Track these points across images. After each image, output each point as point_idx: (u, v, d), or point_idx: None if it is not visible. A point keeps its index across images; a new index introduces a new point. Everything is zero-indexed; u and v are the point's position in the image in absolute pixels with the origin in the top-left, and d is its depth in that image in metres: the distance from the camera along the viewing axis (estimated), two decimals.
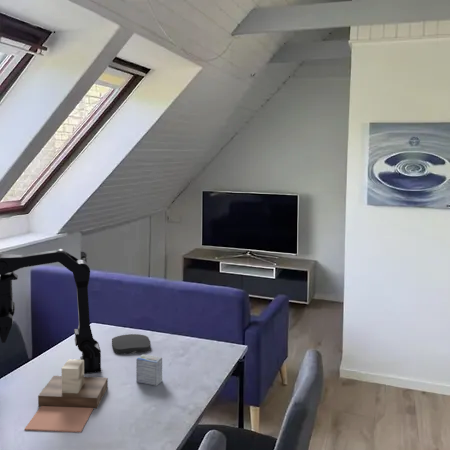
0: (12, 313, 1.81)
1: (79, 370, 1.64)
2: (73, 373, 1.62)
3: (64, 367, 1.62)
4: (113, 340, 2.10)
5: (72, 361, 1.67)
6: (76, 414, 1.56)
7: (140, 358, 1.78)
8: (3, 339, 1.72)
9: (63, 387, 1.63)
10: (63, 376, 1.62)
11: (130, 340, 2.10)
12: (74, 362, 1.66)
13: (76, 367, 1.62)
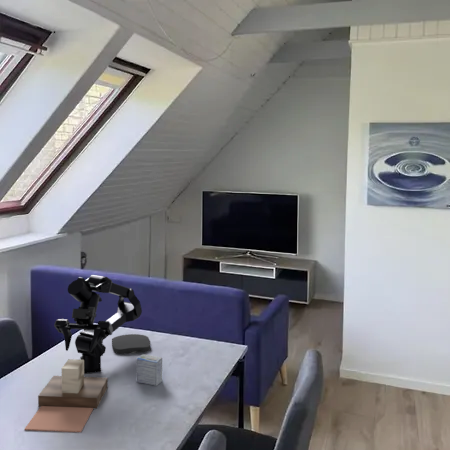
0: (71, 334, 1.79)
1: (79, 370, 1.64)
2: (73, 373, 1.62)
3: (64, 367, 1.62)
4: (113, 340, 2.10)
5: (72, 361, 1.67)
6: (76, 414, 1.56)
7: (140, 358, 1.78)
8: (92, 348, 1.74)
9: (63, 387, 1.63)
10: (63, 376, 1.62)
11: (130, 340, 2.10)
12: (74, 362, 1.66)
13: (76, 367, 1.62)
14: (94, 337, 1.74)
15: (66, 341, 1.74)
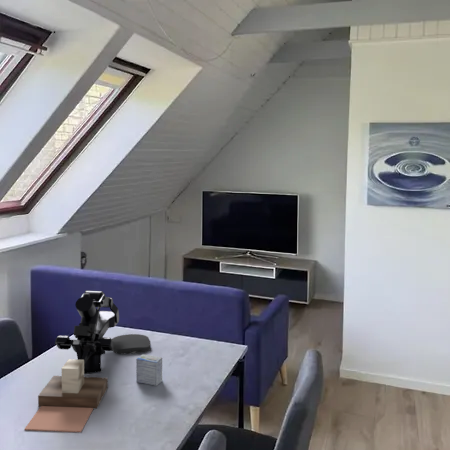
0: (83, 351, 1.79)
1: (79, 370, 1.64)
2: (73, 373, 1.62)
3: (64, 367, 1.62)
4: (113, 340, 2.10)
5: (72, 361, 1.67)
6: (76, 414, 1.56)
7: (140, 358, 1.78)
8: None
9: (63, 387, 1.63)
10: (63, 376, 1.62)
11: (130, 340, 2.10)
12: (74, 362, 1.66)
13: (76, 367, 1.62)
14: (84, 353, 1.75)
15: (79, 358, 1.74)
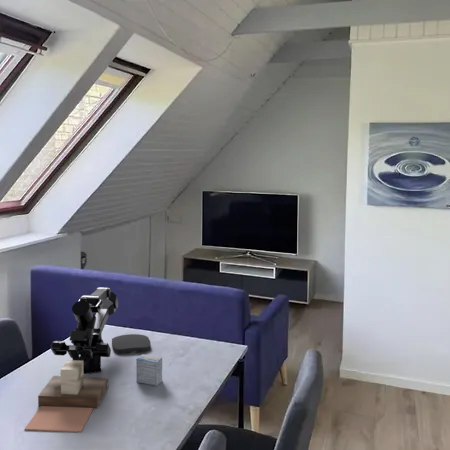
0: (79, 357, 1.75)
1: (78, 371, 1.63)
2: (72, 374, 1.61)
3: (63, 368, 1.62)
4: (113, 340, 2.10)
5: (71, 362, 1.66)
6: (76, 414, 1.56)
7: (140, 358, 1.78)
8: None
9: (62, 388, 1.62)
10: (62, 377, 1.61)
11: (130, 340, 2.10)
12: (73, 363, 1.66)
13: (75, 369, 1.62)
14: (81, 359, 1.70)
15: None
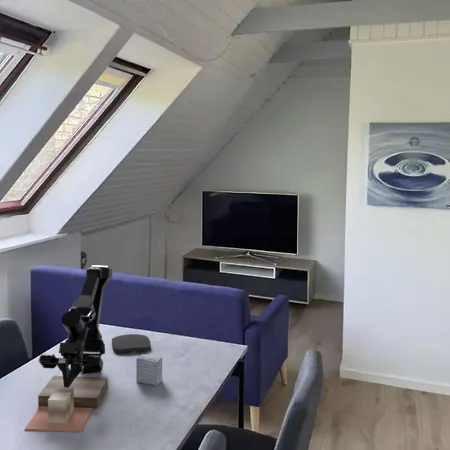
0: (69, 370, 1.64)
1: (67, 414, 1.52)
2: None
3: (50, 420, 1.51)
4: (113, 340, 2.10)
5: (54, 405, 1.51)
6: (76, 414, 1.56)
7: (140, 358, 1.78)
8: (69, 385, 1.59)
9: None
10: None
11: (130, 340, 2.10)
12: (57, 407, 1.51)
13: (63, 420, 1.51)
14: (71, 373, 1.60)
15: (64, 379, 1.59)
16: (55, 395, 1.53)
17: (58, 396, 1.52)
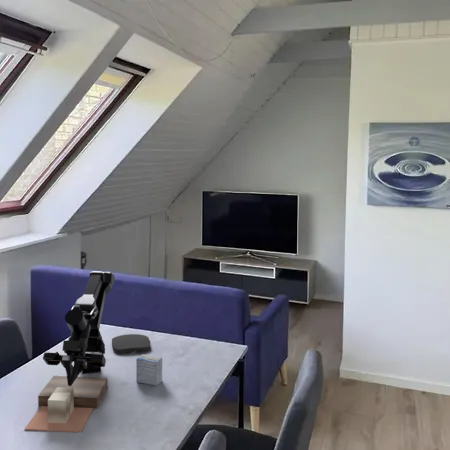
0: (73, 367, 1.68)
1: (66, 414, 1.52)
2: None
3: (50, 420, 1.51)
4: (113, 340, 2.10)
5: (53, 406, 1.50)
6: (76, 414, 1.56)
7: (140, 358, 1.78)
8: (72, 381, 1.63)
9: None
10: None
11: (130, 340, 2.10)
12: (57, 407, 1.50)
13: (63, 421, 1.51)
14: (74, 370, 1.64)
15: (68, 375, 1.63)
16: (54, 395, 1.53)
17: (58, 397, 1.52)
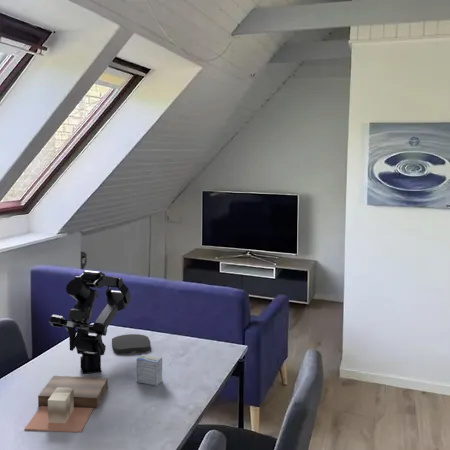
0: None
1: (66, 414, 1.52)
2: None
3: (50, 420, 1.51)
4: (113, 340, 2.10)
5: (53, 406, 1.50)
6: (76, 414, 1.56)
7: (140, 358, 1.78)
8: (74, 347, 1.74)
9: None
10: None
11: (130, 340, 2.10)
12: (57, 407, 1.50)
13: (63, 421, 1.51)
14: (77, 336, 1.74)
15: (71, 341, 1.73)
16: (54, 395, 1.53)
17: (58, 397, 1.52)
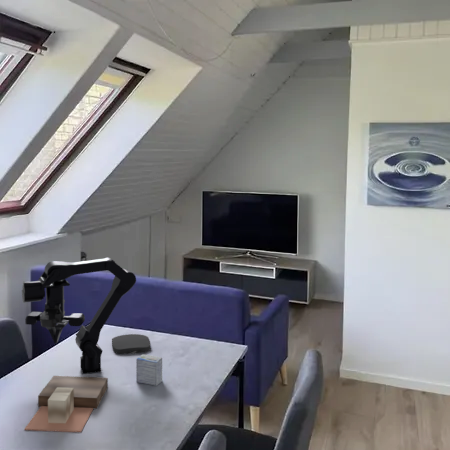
0: None
1: (66, 414, 1.52)
2: None
3: (50, 420, 1.51)
4: (113, 340, 2.10)
5: (53, 406, 1.50)
6: (76, 414, 1.56)
7: (140, 358, 1.78)
8: (57, 339, 1.80)
9: None
10: None
11: (130, 340, 2.10)
12: (57, 407, 1.50)
13: (63, 421, 1.51)
14: (57, 331, 1.78)
15: (52, 336, 1.79)
16: (54, 395, 1.53)
17: (58, 397, 1.52)
